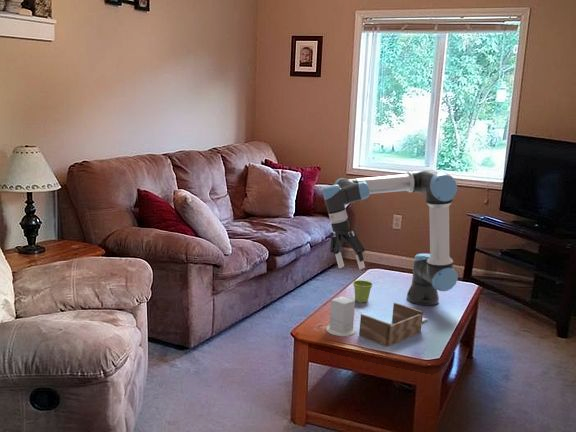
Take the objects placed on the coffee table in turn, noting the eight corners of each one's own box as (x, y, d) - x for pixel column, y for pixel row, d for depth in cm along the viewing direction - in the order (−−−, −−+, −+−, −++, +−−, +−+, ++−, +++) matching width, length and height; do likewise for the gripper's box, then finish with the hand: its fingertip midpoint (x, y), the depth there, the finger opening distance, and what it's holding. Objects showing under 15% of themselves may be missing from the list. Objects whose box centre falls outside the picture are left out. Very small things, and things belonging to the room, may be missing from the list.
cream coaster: (338, 322, 259) (339, 321, 259) (361, 331, 251) (361, 330, 251) (320, 329, 251) (320, 328, 251) (342, 338, 243) (342, 337, 243)
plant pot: (348, 301, 287) (350, 283, 285) (355, 296, 296) (356, 278, 294) (367, 305, 283) (369, 287, 282) (373, 299, 292) (375, 282, 290)
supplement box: (353, 329, 251) (356, 300, 249) (342, 333, 246) (344, 304, 244) (339, 324, 256) (341, 295, 254) (328, 328, 251) (330, 299, 248)
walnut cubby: (393, 322, 264) (395, 302, 262) (420, 332, 255) (423, 311, 253) (359, 335, 247) (360, 314, 245) (387, 346, 238) (389, 324, 236)
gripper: (315, 224, 267) (327, 269, 270) (352, 223, 247) (365, 272, 250) (327, 219, 272) (339, 263, 275) (365, 217, 251) (377, 265, 254)
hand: (351, 267), depth 262 cm, fingers open, 13 cm apart
